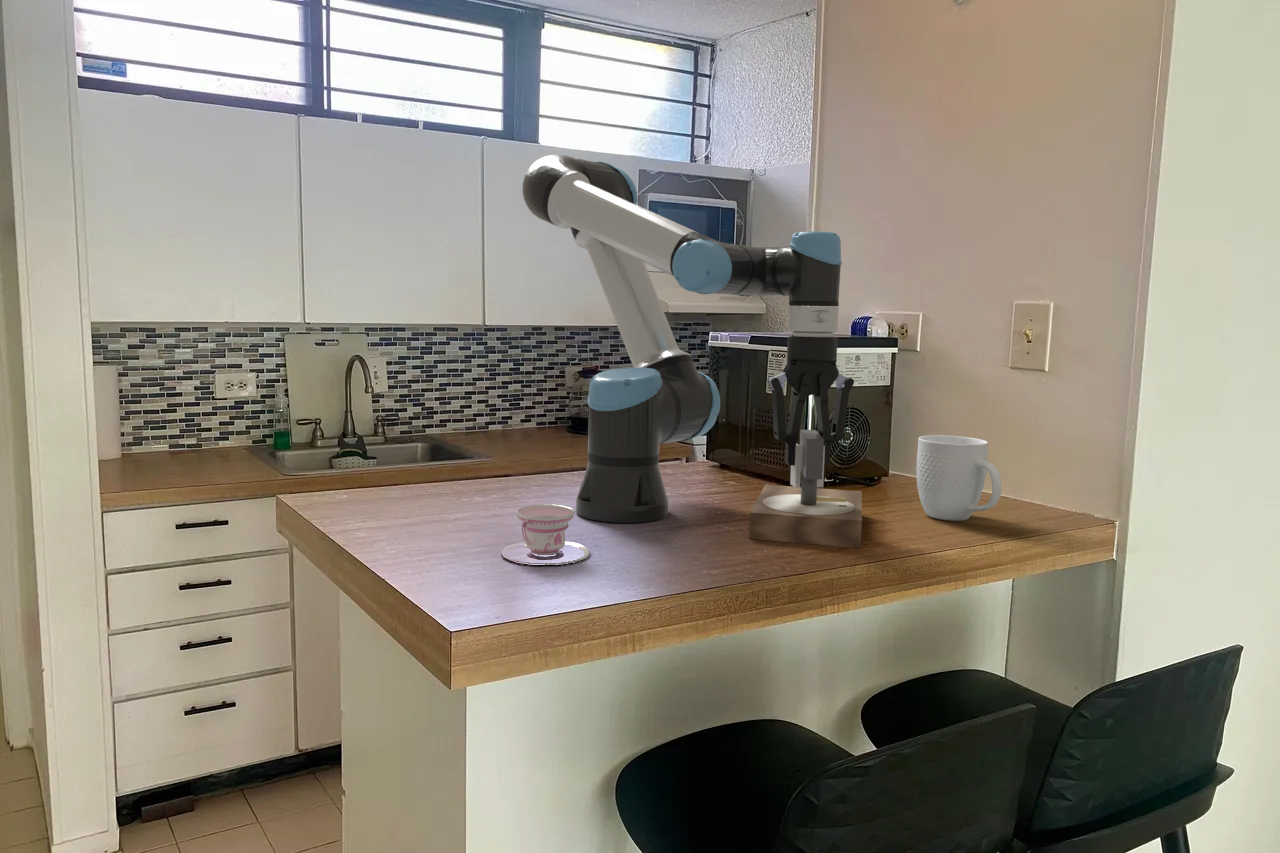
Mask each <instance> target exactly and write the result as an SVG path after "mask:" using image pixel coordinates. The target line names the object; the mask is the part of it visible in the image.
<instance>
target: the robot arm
mask: <svg viewBox="0 0 1280 853" xmlns="http://www.w3.org/2000/svg"><path fill="white" fill-rule="evenodd" d="M522 196H523V200H524V202H525V205H526V207H527V208H528V210H529V211H530V212H531V214H533V215H534V216H535V217H537V218H538V219H540V220H542V221H545V222H547V223H549V224H551V225H553V226H555V227H558V228H560V229H570V231H571V234H572V237H573V239H574V242H575V244H576V246H578V247H579V248H582V249H585V250H587V252H588V254H589V256H590V257H589V258H590V259H591V263H592V265H593V267H594V269H595V271H596V275H597V277H598V279H599V282H600V285H601V288H602V290H603V293H604V296H605V297H606V300H607V303H608V306H609V308H610V310H611V313H612V316H613V318H614V321H615V322H616V323H615V324H616V326H617V328H618V331H619V333H620V336H621V339H622V341H623V344H624V346H625V348H626V351H627V354H628V356H629V359H630V362H631V365H632V367H625V368H614V369H608V370H605V371H604V370H603V371H601V372H598V373H597V374H595V375H593V377H592V378H591V380H590V382H589V390H588V396H587V403H586V404H587V465H586V470H585V472H584V475H583V478H582V481H581V484H580V487H579V490H578V493H577V496H576V500H575V501H576V503H575V512H576V514H577V515H578V516H580V517H582V518H585V519H589V520H593V521H598V522H606V523H622V524H623V523H624V524H625V523H627V524H628V523H629V524H631V523H634V524H635V523H647V522H652V521H657V520H661V519H663V518H665V517H667V516H668V515H669V498H668V493H667V491H666V486H665V483H664V481H663V478H662V474H661V470H660V445H661V444H668V443H675V442H687V441H690V440H692V439H694V438H695V439H696V438H699V437H701V436H703V435H705V434H707V432H709V431H710V430H711V429H712V428H713V427H714V425H715V423H716V421H717V418H718V415H719V413H720V408H721V396H720V392H719V389H718V386H717V384H716V383H715V381H714V380H713V379H712V378H711V377H710V376H709V375H706V374H704V373H703V372H701V371H698V370H697V367H696V365H695V363H694V362H695V361H694V359H693V357H692V356H691V354H690V353H689V352H686V351H683V350H681V349H680V348H679V346H678V343H677V342H676V339H675V336H674V334H673V331H672V328H671V325H670V323H669V322H668V319H667V316H666V314H665V311H664V309H663V307H662V304H661V302H660V298H659V296H658V294H657V291H656V288H655V286H654V284H653V282H652V281H653V280H652V279H651V276H650V273H649V271H648V269H647V266H646V265H648V266H651V267H653V268H655V269H657V270H659V271H661V272H663V273H666V274H668V275H669V276H671V277H674V279H675V280H676V282H677V284H678V285H679V287H680V288H682V289H684V290H685V291H688V292H694V293H697V294H700V295H712V294H715V295H716V294H717V295H718V294H719V295H731V296H732V295H733V296H738V297H752V296H782V297H783V296H788V320H787V331H788V333H791V335H789V337H787V347H786V349H787V350H786V364H785V366H784V369H783V371H782V373H780V374H777V375H775V376H769V377H768V378H767V384H768V386H769V389H770V391H771V402H772V404H771V405H772V423H773V437H774V439H776V440H778V441H779V442H783V443H784V444H785V451H784V452H785V453H784V454H785V456H784V461H785V464H786V465H788V466H790V480H789V481H790V482H789V485H790V486H792V487H795V488H800V487H801V476H802V472H801V450H802V446H801V445H800V443H799V444H798V439H799V435H800V430H801V429H800V428H801V424H802V423H801V422H802V417H803V413H804V407H805V403H806V401H807V397H808V396H813V400H814V402H815V411H816V412H815V413H816V421H817V432H818V433H819V434H820V435H821V436H822V438H823V439H824V449H823V468H822V480H820V479H818V481H817V488H824V482H825V480H824V479H825V478H824V476H825V466H829V465H830V463H831V450H832V449H831V448H832V447H831V446H833V445H834V443H836V442H838V441H839V442H841V441H842V440H844V434H845V427H846V418H847V412H848V411H847V410H848V404H849V397H850V392H851V390H852V388H853V386H854V384H855V380H854V379H853V378H851V377H846V376H845V375H842V374H841V373H840V370H839V369H838V367H837V360H838V359H837V358H838V357H837V355H838V338H837V337H836V336H834V334H836V333H838V329H839V327H838V326H839V312H840V311H839V309H840V308H839V306H840V303H839V298H840V297H839V296H840V285H841V284H840V282H841V267H842V264H843V261H842V249H841V248H842V244H841V243H842V242H841V238H840V235H838V233H835V232H832V231H814V230H813V231H800V232H799V231H798V232H794V233H793V234H792V236H791V238H790V243H789V245H787V246H782V247H781V246H780V247H779V246H777V247H773V246H772V247H765V246H764V247H760V246H758V247H757V246H752V245H751V246H750V245H742V244H734V243H726V242H721V241H718V240H716V239H714V238H712V237H708V236H707V235H704V234H702V233H699V231H698V232H697V231H696V230H693V229H691V228H689V227H687V226H684V225H682V224H680V223H678V222H676V221H673V220H671V219H669V218H667V217H665V216H662V215H660V214H657V213H656V212H653V211H651V210H649V209H647V208H645V207H642V206H641V205H638V192H637V188H636V186H635V184H634V181H633V180H632V178H631V176H629V175H628V173H627V172H625V171H624V170H623V169H621V168H619V167H618V166H615V165H612V164H610V163H607V162H603V161H590V160H586V159H583V158H577V157H575V156H574V157H573V156H568V155H566V154H549V155H545V156H542V157H540V158H539V159H537V160H535V161H534V162H533V163H532V164H531V166H529V168H528V169H527V171H526V172H525V175H524V177H523V182H522ZM786 382H787V383H788V384H789V386H790V388H791V389H792V394H791V406H790V411H789V415H788V423H787V425H786V413H785V412H786V410H785V407H786V406H785V393H784V388H785V387H786ZM834 383H835V388H836V391H835V392H836V393H835V396H834V407H833V413H832V420H830V410H829V398H830V397H829V392H828V391H829V390H830V389H831V387H832V386H833V384H834ZM786 426H787V427H786Z"/></svg>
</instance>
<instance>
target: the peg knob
mask: <svg viewBox="0 0 1280 853" xmlns="http://www.w3.org/2000/svg"><path fill="white" fill-rule="evenodd" d="M799 436H800V437H799V445H801V446H802V450H801V481H800V487H801V502H800V503H801V504H805V505H815V504H816V501H828V502H846V498H828V497H817V488H818V487H817V481H818V479H820V480H822V468H823V449H824V439H823V438H822V436H821V435H820V434H819V431H818V430H816V429H799Z"/></svg>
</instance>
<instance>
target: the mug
mask: <svg viewBox="0 0 1280 853" xmlns="http://www.w3.org/2000/svg"><path fill="white" fill-rule="evenodd" d="M988 447H989V442H988V441H987V440H984V439H982V438H981V439H980V438H975V437H968V436H960V435H950V434H949V435H946V434H930V435H929V434H928V435H922V436H919V437H918V440H917V452H916V471H915V472H916V485H917V486H916V487H917V492H918V497H919V500H920V503H921V505H922V506H921V507H922V509H923V511H924V512H925V514H926V515H927V516H928V517H930V518H932V519H937V520H942V521H953V522H957V521H958V522H959V521H966V520H968V519H970V517H971V516H972V515H973V513H975V512H984V511H988V510H990V509H992V508H993V507H995V506H996V505H997V504H998V502H999V500H1000V497H1001V494H1002V479H1001V476H1000V472H999V469H998V468H997V467H996V466H995V464H993V463H992V462H990V461H988V454H989V452H988V449H989V448H988ZM987 472H988V474H989V475H990V479H991V484H992V491H991V496H990V499H989V500H988V502H987V503H985V504H982V505H978V504H980V503H979V502H980V500H981V498H982V494H983V490H984V489H985V488H984V487H985V482H986V478H987V477H986V474H987Z"/></svg>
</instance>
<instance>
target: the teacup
mask: <svg viewBox="0 0 1280 853" xmlns="http://www.w3.org/2000/svg"><path fill="white" fill-rule="evenodd" d="M575 512H576V509H575V508H573V507H571V506H568V505H564V504H556V503H552V504H550V503H545V504H543V503H542V504H531V505H526V506H522V507H519V508H518V509H516V511H515V515H516V517H517V518H518V520H519V521H521V523H522V524H521V526H522V528H521V533H522V536H523V540H524V541H519V542H516V543H512V544H509V545H506V546H505V547H504V548H502V550H501V551H502V554H503V556H504V557H506V558H508V557H507V556H505V555H504V553H503V551H505V549H506V548H508V547H511V546H513V545H517V544H521V543H525V546H526V547H527V548H528V549H530V550H531V552H530V553H534V554H537V555H554V554H557V555H558V553H559V550H560V549H562V548H563V547H564V546H565V545H571V546H573V547H577V548H579V549H581V550H582V551H584V556H582V557H581V558H579V559H577V560H573V561H568V562H561V563H529V562H522V561H517V560H513V559H510V558H508V559H510V560H513V561H516V562H522V563H528V564H545V565H548V564H549V565H556V564H558V565H560V564H566V563H567V565H569V564H568V563H573V562H577V561H580V560H583V559H585V558H586V559H588V558H589V557H590V555H591V551H590V550H589V548H588V547H587V546H585V545H583V544H580V543H577V542H573V541H566V540H565V539H566V537H565V536H566V534H565V533H566V530H567V529H568V528H569V522H570V521H571V520H572V519H573V518H574V516H575ZM589 554H590V555H589ZM588 556H589V557H588ZM587 557H588V558H587ZM586 559H585V560H586ZM583 561H584V560H583ZM580 562H581V561H580ZM577 563H578V562H577ZM573 564H574V563H573Z"/></svg>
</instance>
